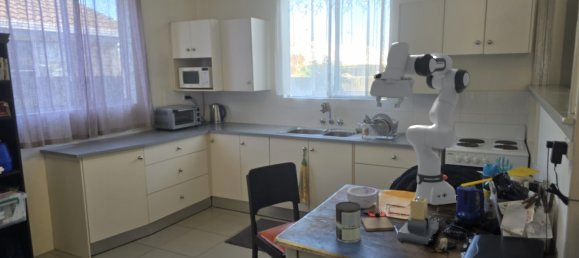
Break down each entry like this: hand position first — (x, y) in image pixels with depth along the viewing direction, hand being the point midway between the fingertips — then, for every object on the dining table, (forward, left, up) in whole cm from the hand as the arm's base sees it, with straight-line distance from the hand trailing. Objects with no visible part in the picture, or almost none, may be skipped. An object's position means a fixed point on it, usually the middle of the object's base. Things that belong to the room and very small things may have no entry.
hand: (387, 107), depth 183 cm
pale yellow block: (-9, +18, -45) cm, 49 cm away
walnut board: (+6, +7, -52) cm, 53 cm away
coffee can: (+21, +19, -52) cm, 60 cm away
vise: (-9, +18, -52) cm, 56 cm away
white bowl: (+7, -19, -52) cm, 56 cm away
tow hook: (+3, -5, -52) cm, 53 cm away
